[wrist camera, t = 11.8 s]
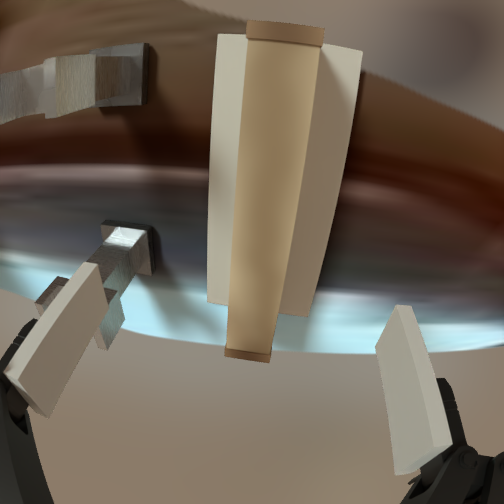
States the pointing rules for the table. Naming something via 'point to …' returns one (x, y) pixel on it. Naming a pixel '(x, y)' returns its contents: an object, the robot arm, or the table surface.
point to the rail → (268, 177)
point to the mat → (314, 174)
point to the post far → (113, 272)
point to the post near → (77, 83)
